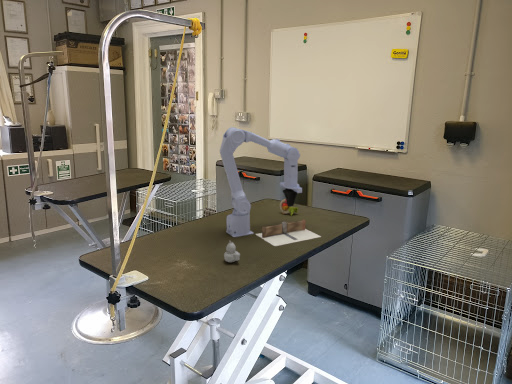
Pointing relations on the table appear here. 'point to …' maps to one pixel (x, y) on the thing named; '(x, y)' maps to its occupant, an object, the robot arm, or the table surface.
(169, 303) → the table surface
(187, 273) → the table surface
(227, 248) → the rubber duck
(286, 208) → the bird rattle
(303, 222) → the brown wooden bar
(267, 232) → the fixed fence section
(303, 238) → the card
